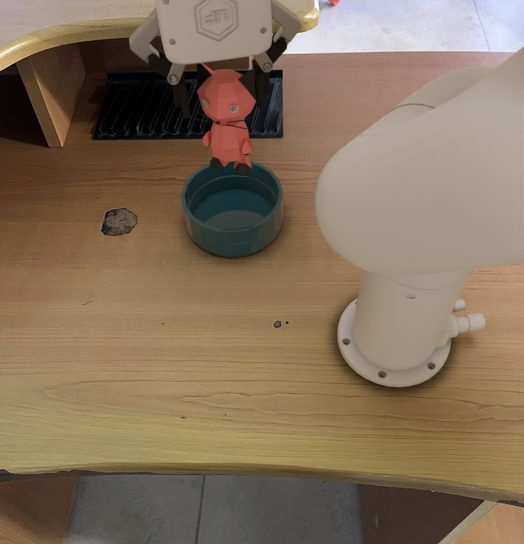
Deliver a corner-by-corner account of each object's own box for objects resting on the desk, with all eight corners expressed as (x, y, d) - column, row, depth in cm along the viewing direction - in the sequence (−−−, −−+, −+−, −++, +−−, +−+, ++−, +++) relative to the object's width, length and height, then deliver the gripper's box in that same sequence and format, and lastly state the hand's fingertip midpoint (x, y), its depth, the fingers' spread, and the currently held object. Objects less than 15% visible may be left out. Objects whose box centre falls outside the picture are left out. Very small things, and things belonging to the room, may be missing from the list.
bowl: (272, 181, 79) (272, 152, 74) (291, 250, 72) (291, 222, 68) (182, 195, 78) (176, 166, 74) (192, 265, 71) (186, 238, 67)
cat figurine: (194, 174, 65) (178, 77, 55) (214, 136, 69) (203, 38, 59) (252, 186, 64) (247, 90, 54) (270, 147, 68) (269, 49, 57)
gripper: (93, -57, 42) (143, 140, 58) (321, -83, 44) (311, 117, 59) (91, -102, 46) (138, 94, 61) (301, -125, 47) (296, 73, 63)
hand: (222, 104), depth 60 cm, fingers closed on cat figurine, 7 cm apart
